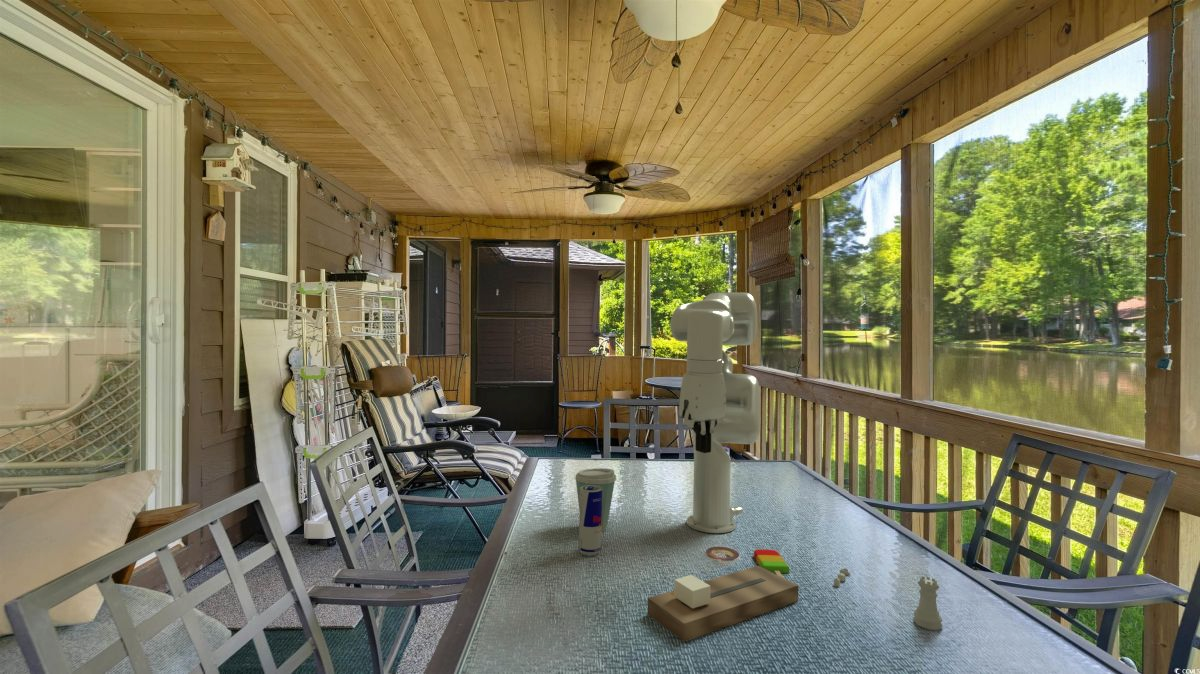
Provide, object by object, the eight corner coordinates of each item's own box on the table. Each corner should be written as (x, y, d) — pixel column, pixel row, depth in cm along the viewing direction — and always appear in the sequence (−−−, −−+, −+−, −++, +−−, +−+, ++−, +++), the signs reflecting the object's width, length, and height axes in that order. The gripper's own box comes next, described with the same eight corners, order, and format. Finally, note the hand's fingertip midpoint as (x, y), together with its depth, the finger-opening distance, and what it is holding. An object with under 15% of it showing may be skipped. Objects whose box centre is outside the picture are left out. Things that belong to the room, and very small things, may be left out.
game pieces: (840, 573, 117) (840, 564, 117) (851, 576, 116) (851, 567, 116) (829, 586, 111) (829, 577, 111) (840, 589, 110) (840, 580, 110)
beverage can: (598, 557, 123) (599, 491, 122) (576, 555, 124) (577, 489, 123) (603, 549, 127) (604, 484, 127) (581, 547, 129) (582, 483, 128)
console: (757, 580, 113) (758, 565, 113) (798, 601, 104) (798, 584, 104) (647, 614, 98) (647, 597, 98) (683, 641, 90) (684, 623, 90)
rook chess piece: (907, 618, 98) (908, 574, 98) (930, 617, 99) (931, 573, 99) (924, 632, 94) (925, 585, 94) (948, 631, 94) (949, 584, 94)
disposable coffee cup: (567, 531, 138) (568, 472, 138) (584, 518, 148) (585, 463, 148) (606, 538, 134) (607, 477, 134) (621, 524, 144) (622, 467, 144)
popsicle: (776, 557, 126) (776, 549, 126) (798, 587, 111) (798, 578, 111) (752, 556, 126) (752, 548, 126) (770, 586, 111) (770, 577, 111)
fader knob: (691, 591, 100) (691, 574, 100) (710, 602, 96) (710, 585, 96) (674, 596, 98) (674, 579, 98) (692, 608, 94) (692, 591, 94)
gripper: (716, 364, 125) (715, 443, 126) (666, 367, 117) (665, 452, 118) (741, 367, 119) (740, 450, 120) (690, 371, 111) (689, 460, 112)
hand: (703, 451), depth 119 cm, fingers closed
